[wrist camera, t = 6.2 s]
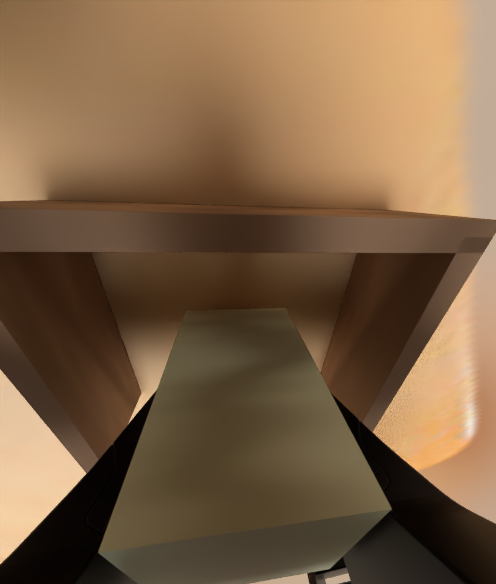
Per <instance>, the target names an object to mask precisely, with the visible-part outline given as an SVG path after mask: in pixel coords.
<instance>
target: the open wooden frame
mask: <svg viewBox="0 0 496 584" xmlns="http://www.w3.org/2000/svg"><path fill="white" fill-rule="evenodd" d="M495 233H496V220H490V219H480V218H469V217H458V216H447V215H436V214H425V213H414V212H403V211H392V210H364V209H329V208H295V207H260V206H225V205H191V204H156V203H122V202H87V201H53V200H38V201H1V202H0V369H1V370H2V372H3V373H4V374H5V375H6V376H7V378H8V379H9V380H10V381H11V382H12V384H13V385H14V386H15V387H16V389H17V390H18V391H19V392H20V393H21V395H22V396H23V397H24V398H25V399H26V401H27V402H28V403H29V404H30V405H31V407H32V408H33V409H34V410H35V411H36V413H37V414H38V415H39V416H40V418H41V419H42V420H43V421H44V422H45V424H46V425H47V426H48V427H49V428H50V430H51V431H52V432H53V433H54V434H55V436H56V437H57V438H58V439H59V441H60V442H61V443H62V444H63V445H64V447H65V448H66V449H67V450H68V451H69V453H70V454H71V455H72V456H73V457H74V459H75V460H76V461H77V462H78V463H79V465H80V466H81V467H82V468H83V470H84V471H85V472H86V473H88V472H89V470H90V469H91V468H92V467H93V466H94V465H95V463H96V462H97V461H98V460H99V459H100V458H101V456H102V455H103V454H104V453H105V452H106V450H107V449H108V448H109V447H110V446H111V445H112V444H113V442H114V441H115V440H116V439H117V437H118V436H119V435H120V434H121V433H122V431H123V430H124V429H125V428H126V427H127V425H128V423H129V420H130V418H131V416H132V413H133V411H134V409H135V406H136V404H137V402H138V399H139V397H140V395H141V391H140V389H139V386H138V383H137V380H136V378H135V375H134V372H133V369H132V367H131V364H130V361H129V358H128V356H127V353H126V350H125V347H124V345H123V342H122V339H121V336H120V334H119V331H118V328H117V325H116V323H115V320H114V317H113V314H112V312H111V309H110V306H109V303H108V300H107V298H106V295H105V292H104V289H103V287H102V284H101V281H100V278H99V276H98V273H97V270H96V267H95V265H94V262H93V259H92V256H91V254H90V252H264V253H358V254H357V257H356V260H355V264H354V267H353V270H352V273H351V277H350V280H349V283H348V286H347V290H346V293H345V296H344V300H343V303H342V306H341V309H340V313H339V316H338V319H337V322H336V326H335V329H334V332H333V336H332V339H331V342H330V345H329V349H328V352H327V355H326V359H325V362H324V365H323V368H322V372H321V376H322V378H323V379H324V381H325V383H326V385H327V387H328V389H329V391H330V392H331V393H332V394H333V395H334V396H335V397H336V398H337V399H338V400H339V401H340V402H341V403H342V404H343V405H344V406H345V407H346V408H347V409H349V410H350V411H351V412H352V413H353V414H354V415H355V416H356V417H357V418H358V419H359V421H361V422H362V423H363V424H364V425H365V426H366V427H367V428H368V429H369V430H370V431H372V432H373V430H374V429H375V427H376V425H377V424H378V422H379V420H380V419H381V417H382V416H383V414H384V412H385V411H386V409H387V408H388V406H389V404H390V403H391V401H392V399H393V398H394V396H395V395H396V393H397V391H398V390H399V388H400V387H401V385H402V383H403V382H404V380H405V378H406V377H407V375H408V374H409V372H410V370H411V369H412V367H413V366H414V364H415V362H416V361H417V359H418V357H419V356H420V354H421V353H422V351H423V349H424V348H425V346H426V345H427V343H428V341H429V340H430V338H431V336H432V335H433V333H434V332H435V330H436V328H437V327H438V325H439V324H440V322H441V320H442V319H443V317H444V315H445V314H446V312H447V311H448V309H449V307H450V306H451V304H452V302H453V301H454V299H455V298H456V296H457V294H458V293H459V291H460V290H461V288H462V286H463V285H464V283H465V281H466V280H467V278H468V277H469V275H470V273H471V272H472V270H473V269H474V267H475V265H476V264H477V262H478V260H479V259H480V257H481V256H482V254H483V252H484V251H485V249H486V248H487V246H488V244H489V243H490V241H491V239H492V238H493V236H494V235H495Z"/></svg>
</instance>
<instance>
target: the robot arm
mask: <svg viewBox="0 0 496 584" xmlns="http://www.w3.org/2000/svg"><path fill="white" fill-rule="evenodd" d="M156 392H157V390H156ZM156 392H155V393H154V394H153V395H152V396H151V398H150V399H149V400H148V401H147V402H146V404H145V405H144V406H143V407H142V408H141V410H140V411H139V412H138V413H137V414H136V416H135V417H134V418H133V419H132V420H131V422H130V423H129V424H128V425H127V427H126V428H125V429H124V430H123V431H122V433H121V434H120V435H119V436H118V437H117V439H116V440H115V441H114V442H113V444H112V445H111V446H110V447H109V448H108V449H107V450H106V452H105V453H104V454H103V455H102V456H101V458H100V459H99V460H98V461H97V462H96V463H95V465H94V466H93V467H92V468H91V469H90V470H89V472H88V473H87V474H86V475H85V476H84V477H83V478H82V479H81V480H80V481H79V482H78V484H77V485H76V486H75V487H74V488H73V489H72V490H71V491H70V492H69V493H68V494H67V495H66V497H65V498H64V499H63V500H62V501H61V502H60V503H59V504H58V505H57V506H56V507H55V508H54V509H53V510H52V511H51V512H50V513H49V515H48V516H47V517H46V518H45V519H44V520H43V521H42V522H41V523H40V524H39V525H38V526H37V527H36V528H35V529H34V530H33V531H32V532H31V534H30V535H29V536H28V537H27V538H26V539H25V540H24V541H23V542H22V543H21V544H20V545H19V546H18V547H17V548H16V549H15V550H14V551H13V552H12V553H11V554H10V555H9V556H8V557H7V558H6V559H5V560H4V561H3V562H2V563H1V564H0V584H137V583H136V582H135V581H133V580H132V579H131V578H130V577H128V576H127V575H126V574H125V573H123V572H122V571H121V570H119V569H118V568H117V567H116V566H114V565H113V564H112V563H110V562H109V561H108V560H107V559H105V558H104V557H103V556H101V555H100V554H99V553H98V551H99V549H100V546H101V543H102V540H103V538H104V535H105V532H106V529H107V527H108V524H109V521H110V518H111V516H112V513H113V510H114V507H115V505H116V502H117V499H118V496H119V494H120V491H121V488H122V485H123V482H124V480H125V477H126V474H127V471H128V469H129V466H130V463H131V460H132V458H133V455H134V452H135V449H136V447H137V444H138V441H139V438H140V436H141V433H142V430H143V427H144V425H145V422H146V419H147V416H148V414H149V411H150V408H151V405H152V403H153V400H154V397H155V394H156ZM330 393H331V392H330ZM331 395H332V396H333V398H334V400H335V402H336V404H337V406H338V408H339V410H340V412H341V413H342V415H343V417H344V419H345V421H346V423H347V425H348V427H349V429H350V431H351V432H352V434H353V436H354V438H355V440H356V442H357V444H358V446H359V448H360V449H361V451H362V453H363V455H364V457H365V459H366V461H367V463H368V465H369V466H370V468H371V470H372V472H373V474H374V476H375V478H376V480H377V482H378V484H379V485H380V487H381V489H382V491H383V493H384V495H385V497H386V499H387V501H388V502H389V504H390V506H391V508H392V509H391V510H390V511H389V512H388V513H387V514H386V515H385V516H384V517H383V518H382V519H381V520H380V521H379V522H378V523H377V524H376V525H375V526H374V527H373V528H372V529H371V530H370V531H369V532H367V533H366V534H365V535H364V536H363V537H362V538H361V539H360V540H359V541H358V542H357V543H356V544H355V545H354V546H353V547H352V548H351V549H350V550H349V551H348V552H347V553H346V554H345V555H344V556H343V557H341V558H340V559H339V560H338V561H337V562H336V563H335V564H334V565H333V566H332V567H331V568H330V569H327V570H321V571H316V572H310V573H307V574H308V579H309V583H310V584H326V582H325V579H327V578H330V577H334V576H338V575H342V574H346V573H348V574H349V576H350V580H351V581H348V582H344V583H340V584H496V524H495V523H493V522H491V521H489V520H487V519H485V518H483V517H481V516H479V515H477V514H475V513H473V512H472V511H470V510H468V509H466V508H464V507H463V506H461V505H460V504H458V503H456V502H455V501H454V500H452V499H450V498H449V497H448V496H446V495H445V494H444V493H443V492H441V491H440V490H439V489H437V488H436V487H435V486H434V485H433V484H432V483H430V482H429V481H428V480H427V479H426V478H424V477H423V476H422V475H421V474H420V473H419V472H417V471H416V470H415V469H414V468H413V467H411V466H410V465H409V464H408V463H407V462H406V461H404V460H403V459H402V458H401V457H400V456H398V455H397V454H396V453H395V452H394V451H393V450H391V449H390V448H389V447H388V446H387V445H386V444H385V443H383V442H382V441H381V440H380V439H379V438H378V437H377V436H376V435H375V434H374V433H373V432H372V431H370V430H369V429H368V428H367V427H366V426H365V425H364V424H363V423H362V422H361V421H359V419H358V418H357V417H356V416H355V415H354V414H353V413H352V412H351V411H350V410H349V409H347V408H346V407H345V406H344V405H343V404H342V403H341V402H340V401H339V400H338V399H337V398H336V397H335V396H334V395H333V394H332V393H331Z"/></svg>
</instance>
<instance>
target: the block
mask: <svg viewBox="0 0 496 584" xmlns="http://www.w3.org/2000/svg"><path fill="white" fill-rule="evenodd" d="M391 509H392V508H391V506H390V504H389V502H388V501H387V499H386V497H385V495H384V493H383V491H382V489H381V487H380V485H379V484H378V482H377V480H376V478H375V476H374V474H373V472H372V470H371V468H370V466H369V465H368V463H367V461H366V459H365V457H364V455H363V453H362V451H361V449H360V448H359V446H358V444H357V442H356V440H355V438H354V436H353V434H352V432H351V431H350V429H349V427H348V425H347V423H346V421H345V419H344V417H343V415H342V413H341V412H340V410H339V408H338V406H337V404H336V402H335V400H334V398H333V396H332V395H331V393H330V391H329V389H328V387H327V385H326V383H325V381H324V379H323V378H322V376H321V374H320V372H319V370H318V368H317V366H316V364H315V362H314V360H313V359H312V357H311V355H310V353H309V351H308V349H307V347H306V345H305V343H304V342H303V340H302V338H301V336H300V334H299V332H298V330H297V328H296V326H295V324H294V323H293V321H292V319H291V317H290V315H289V313H288V311H287V309H286V308H255V309H217V310H186V312H185V315H184V317H183V320H182V323H181V326H180V328H179V331H178V334H177V337H176V339H175V342H174V345H173V348H172V350H171V353H170V356H169V359H168V361H167V364H166V367H165V370H164V372H163V375H162V378H161V381H160V383H159V386H158V389H157V392H156V394H155V397H154V400H153V403H152V405H151V408H150V411H149V414H148V416H147V419H146V422H145V425H144V427H143V430H142V433H141V436H140V438H139V441H138V444H137V447H136V449H135V452H134V455H133V458H132V460H131V463H130V466H129V469H128V471H127V474H126V477H125V480H124V482H123V485H122V488H121V491H120V494H119V496H118V499H117V502H116V505H115V507H114V510H113V513H112V516H111V518H110V521H109V524H108V527H107V529H106V532H105V535H104V538H103V540H102V543H101V546H100V549H99V551H98V553H99V554H100V555H101V556H103V557H104V558H105V559H107V560H108V561H109V562H110V563H112V564H113V565H114V566H116V567H117V568H118V569H119V570H121V571H122V572H123V573H125V574H126V575H127V576H128V577H130V578H131V579H132V580H133V581H135V582H136V583H137V584H248V583H254V582H259V581H265V580H270V579H277V578H282V577H288V576H293V575H299V574H304V573H310V572H316V571H321V570H327V569H330V568H331V567H332V566H333V565H334V564H335V563H336V562H337V561H338V560H339V559H340V558H341V557H343V556H344V555H345V554H346V553H347V552H348V551H349V550H350V549H351V548H352V547H353V546H354V545H355V544H356V543H357V542H358V541H359V540H360V539H361V538H362V537H363V536H364V535H365V534H366V533H367V532H369V531H370V530H371V529H372V528H373V527H374V526H375V525H376V524H377V523H378V522H379V521H380V520H381V519H382V518H383V517H384V516H385V515H386V514H387V513H388V512H389V511H390V510H391Z"/></svg>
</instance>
